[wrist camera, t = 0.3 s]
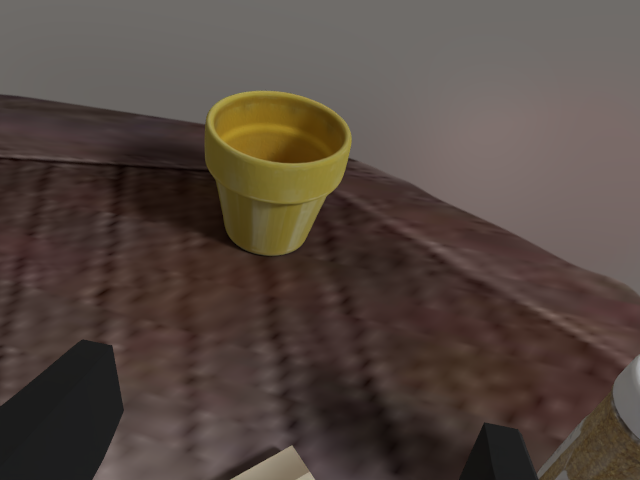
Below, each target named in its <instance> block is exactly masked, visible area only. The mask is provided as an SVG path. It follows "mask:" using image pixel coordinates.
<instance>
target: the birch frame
mask: <svg viewBox="0 0 640 480" xmlns="http://www.w3.org/2000/svg"><path fill="white" fill-rule="evenodd" d="M231 480H315V479H314V477H313V476H312V474H311V473H310V471H309V470H308V468H307V467H306V465H305V464H304V463H303V461H302V460H301V458H300V457H299V455H298V454H297V452H296V451H295V449H294V448H293V446H290V447H288V448H286V449H285V450H283V451H281V452H279V453H277V454H276V455H274V456H272V457H270V458H268V459H267V460H265V461H263V462H261V463H259V464H258V465H256V466H254V467H252V468H250V469H249V470H247V471H245V472H243V473H241V474H240V475H238V476H236V477H234V478H232V479H231Z"/></svg>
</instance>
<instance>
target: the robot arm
mask: <svg viewBox="0 0 640 480" xmlns="http://www.w3.org/2000/svg"><path fill="white" fill-rule="evenodd" d="M123 411H124V409H123V403H122V398H121V392H120V386H119V381H118V375H117V370H116V364H115V358H114V353H113V347H112V345H107V344H102V343H97V342H92V341H88V340H81V341H80V342H78V343H77V344H76V345H74V346H73V347H72V348H71V349H70V350H68V351H67V352H66V353H65V354H64V355H62V356H61V357H60V358H59V359H58V360H56V361H55V362H54V363H53V364H52V365H51V366H49V367H48V368H47V369H46V370H45V371H43V372H42V373H41V374H40V375H39V376H37V377H36V378H35V379H34V380H33V381H31V382H30V383H29V384H28V385H26V386H25V387H24V388H23V389H22V390H20V391H19V392H18V393H17V394H16V395H14V396H13V397H12V398H11V399H9V400H8V401H7V402H5V403H4V404H3V405H2V406H0V480H92V479H93V477H94V476H95V474H96V472H97V470H98V468H99V466H100V465H101V463H102V461H103V459H104V457H105V454H106V452H107V450H108V447H109V445H110V443H111V441H112V438H113V436H114V433H115V431H116V428H117V426H118V424H119V421H120V419H121V416H122V414H123ZM459 480H539V479H538V477H537V474H536V472H535V469H534V467H533V464H532V461H531V459H530V456H529V453H528V451H527V448H526V445H525V442H524V440H523V437H522V434H521V433H520V432H519V430H518V429H514V428H509V427H504V426H499V425H494V424H490V423H485V422H484V424H483V426H482V429H481V431H480V433H479V435H478V438H477V440H476V442H475V444H474V447H473V449H472V451H471V453H470V456H469V458H468V460H467V462H466V465H465V467H464V469H463V471H462V474H461V476H460V478H459Z"/></svg>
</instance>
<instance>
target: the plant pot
mask: <svg viewBox="0 0 640 480" xmlns="http://www.w3.org/2000/svg"><path fill="white" fill-rule="evenodd" d="M350 147H351V133H350V129H349V127H348V125H347V124H346V122H345V121H344V120H343V119H342V118H341V117H340V116H339V115H338V114H337V113H336V112H334V111H333V110H331V109H330V108H328V107H327V106H325V105H323V104H321V103H319V102H316V101H314V100H311V99H309V98H306V97H303V96H299V95H295V94H291V93H285V92H277V91H250V92H243V93H238V94H234V95H231V96H228V97H226V98H224V99H222V100H220V101H219V102H217V103H216V104H215V105H214V106H213V107H212V108H211V109H210V111H209V112H208V114H207V117H206V124H205V162H206V165H207V168H208V170H209V171H210V173H211V175H212V176H213V177H214V178H215V179H216V184H217V189H218V194H219V199H220V203H221V208H222V214H223V219H224V224H225V229H226V232H227V234H228V236H229V237H230V239H231V240H232V241H233V242H234V243H235V244H236V245H238V246H239V247H241V248H242V249H244V250H246V251H248V252H251V253H254V254H259V255H266V256H277V255H283V254H287V253H290V252H292V251H294V250H296V249H298V248H299V247H300V246H301V245H302V244H303V242H304V241H305V239H306V237H307V235H308V233H309V231H310V229H311V227H312V224H313V222H314V220H315V218H316V216H317V214H318V212H319V210H320V208H321V206H322V204H323V202H324V200H325V198H326V196H327V195H328V194H329V193H331V192H332V191H333V190H334V189H335V188H336V187H337V186H338V185H339V183H340V182H341V180H342V177H343V174H344V171H345V168H346V164H347V161H348V157H349V152H350Z"/></svg>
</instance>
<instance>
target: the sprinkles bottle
mask: <svg viewBox="0 0 640 480" xmlns="http://www.w3.org/2000/svg"><path fill="white" fill-rule="evenodd" d="M537 477H538V479H539V480H640V354H639V355H638V356H637V357H636V358H635V359H634V360H633V361H632V362H631V363H630V364H629V365H628V366H627V367H626V368H625V369H624V370H623V371H622V372H621V374H620V375H619V376H618V377H617V379H616V380H615V383H614V385H613V386H612V389H611V392H610V393H609V394H608V395H607V396H606V397H605V398H604V400H603V401H602V402H601V403H600V404H599V405H598V406H597V407H596V408H595V409H594V411H593V412H592V413H591V414H590V415H588V416H586V417H585V418H584V419H583V421H582V422H581V423H580V424H579V425H578V426H577V427H576V428H575V429H574V431H573V432H572V433H571V434H570V435H569V436H568V437H567V439H566V440H565V441H564V442H563V443H562V444H561V446H560V447H559V448H558V449H557V450H556V451H555V452H554V454H553V455H552V456H551V457H550V458H549V459H548V460H547V462H546V463H545V464H544V465H543V466H542V467H541V469H540V470H539V471H538V473H537Z"/></svg>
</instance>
